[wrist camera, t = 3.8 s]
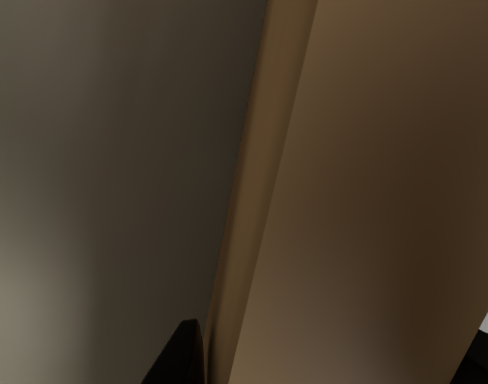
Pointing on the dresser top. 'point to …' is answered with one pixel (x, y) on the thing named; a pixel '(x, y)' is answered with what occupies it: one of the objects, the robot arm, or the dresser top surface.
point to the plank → (357, 198)
